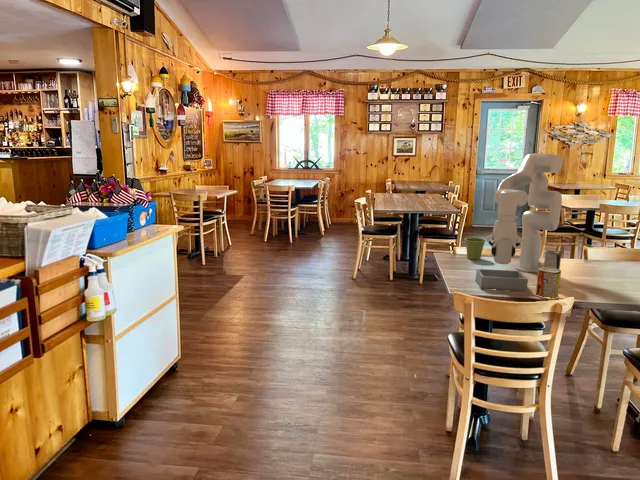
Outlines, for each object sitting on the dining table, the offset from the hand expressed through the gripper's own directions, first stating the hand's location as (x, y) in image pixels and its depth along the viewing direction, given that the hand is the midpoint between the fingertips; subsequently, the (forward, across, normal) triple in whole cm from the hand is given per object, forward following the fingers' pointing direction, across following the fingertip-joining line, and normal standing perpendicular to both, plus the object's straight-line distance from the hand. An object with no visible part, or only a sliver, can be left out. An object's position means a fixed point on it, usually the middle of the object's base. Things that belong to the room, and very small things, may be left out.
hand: (502, 255), depth 217 cm
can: (+4, 0, 0) cm, 4 cm away
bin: (+15, 0, 0) cm, 15 cm away
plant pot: (+15, +3, -54) cm, 56 cm away
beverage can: (+15, -17, +12) cm, 26 cm away
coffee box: (+15, -24, -6) cm, 29 cm away
